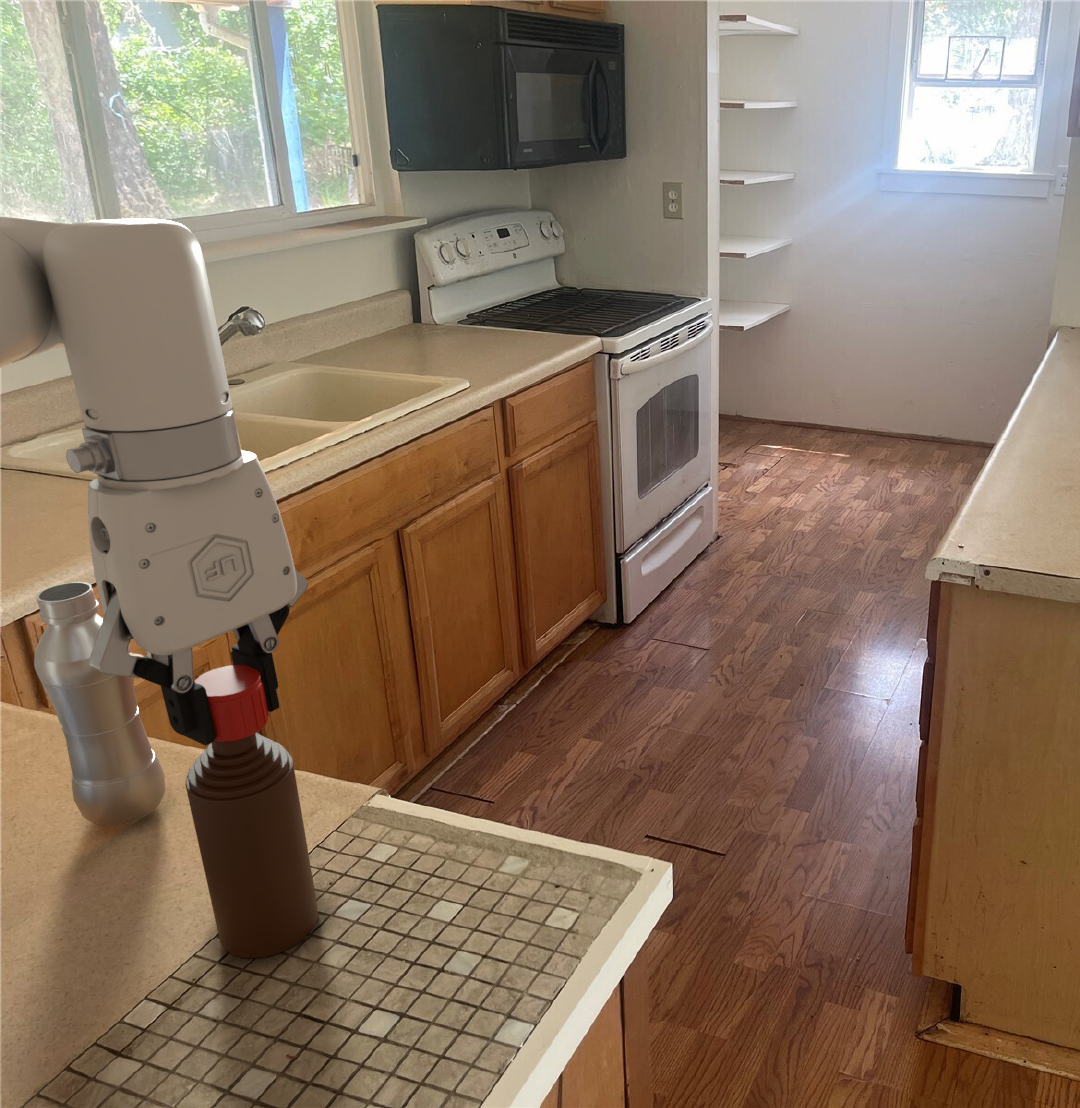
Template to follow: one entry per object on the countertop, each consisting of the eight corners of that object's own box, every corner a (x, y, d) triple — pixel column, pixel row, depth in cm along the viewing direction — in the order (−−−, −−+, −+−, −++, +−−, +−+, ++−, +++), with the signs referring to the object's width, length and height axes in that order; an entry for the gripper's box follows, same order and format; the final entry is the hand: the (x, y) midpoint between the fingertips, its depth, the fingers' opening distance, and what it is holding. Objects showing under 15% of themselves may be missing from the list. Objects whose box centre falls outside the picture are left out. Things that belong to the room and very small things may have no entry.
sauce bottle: (267, 971, 69) (221, 744, 62) (198, 939, 71) (146, 717, 64) (338, 909, 74) (304, 694, 67) (271, 881, 77) (232, 670, 70)
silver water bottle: (141, 780, 89) (82, 567, 82) (189, 804, 86) (132, 585, 78) (64, 820, 84) (-6, 598, 77) (112, 847, 81) (43, 618, 73)
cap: (275, 730, 66) (267, 685, 65) (207, 749, 64) (197, 703, 62) (261, 702, 69) (253, 658, 68) (195, 719, 67) (186, 675, 65)
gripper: (51, 499, 51) (136, 807, 58) (331, 421, 64) (373, 680, 71) (-25, 475, 55) (64, 767, 62) (255, 406, 68) (302, 654, 75)
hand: (229, 718), depth 66 cm, fingers closed on cap, 3 cm apart
